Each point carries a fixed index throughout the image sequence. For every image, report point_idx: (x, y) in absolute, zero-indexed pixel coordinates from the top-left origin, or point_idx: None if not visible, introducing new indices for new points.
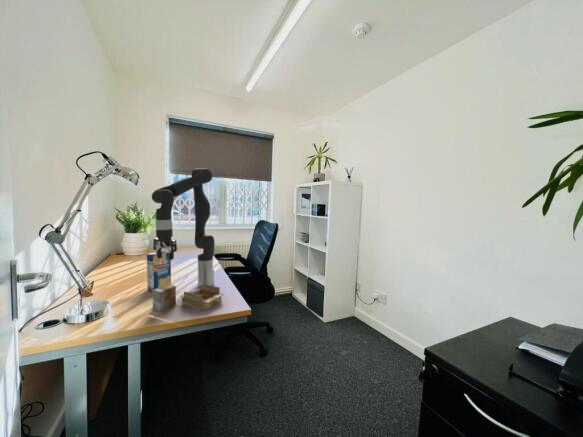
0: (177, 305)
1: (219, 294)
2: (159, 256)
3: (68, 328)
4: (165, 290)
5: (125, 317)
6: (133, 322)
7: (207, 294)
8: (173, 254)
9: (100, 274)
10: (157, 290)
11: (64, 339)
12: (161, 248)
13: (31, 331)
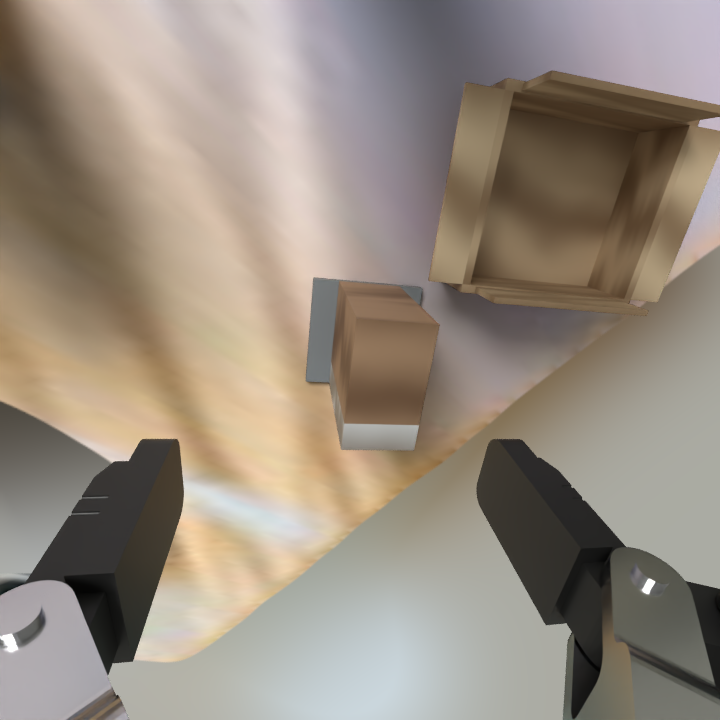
0: (414, 289)
1: (694, 152)
2: (173, 510)
3: None
4: (420, 407)
5: (261, 464)
6: (340, 474)
7: (556, 110)
8: (601, 528)
9: None
10: (378, 439)
11: (230, 611)
12: (99, 690)
13: None
